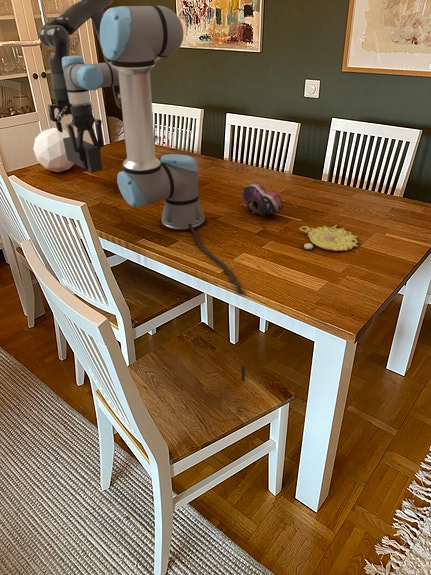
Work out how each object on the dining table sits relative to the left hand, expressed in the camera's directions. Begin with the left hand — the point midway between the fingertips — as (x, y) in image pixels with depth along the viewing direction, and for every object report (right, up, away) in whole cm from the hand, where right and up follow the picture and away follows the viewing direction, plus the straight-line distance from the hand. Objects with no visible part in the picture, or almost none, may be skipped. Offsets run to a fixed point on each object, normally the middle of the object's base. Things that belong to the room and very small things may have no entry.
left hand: (71, 130), depth 176 cm
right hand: (+9, -16, -3) cm, 19 cm away
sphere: (-16, -7, +34) cm, 38 cm away
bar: (+5, -13, +2) cm, 14 cm away
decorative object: (+94, -47, -35) cm, 111 cm away
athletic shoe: (+73, -35, -14) cm, 82 cm away
